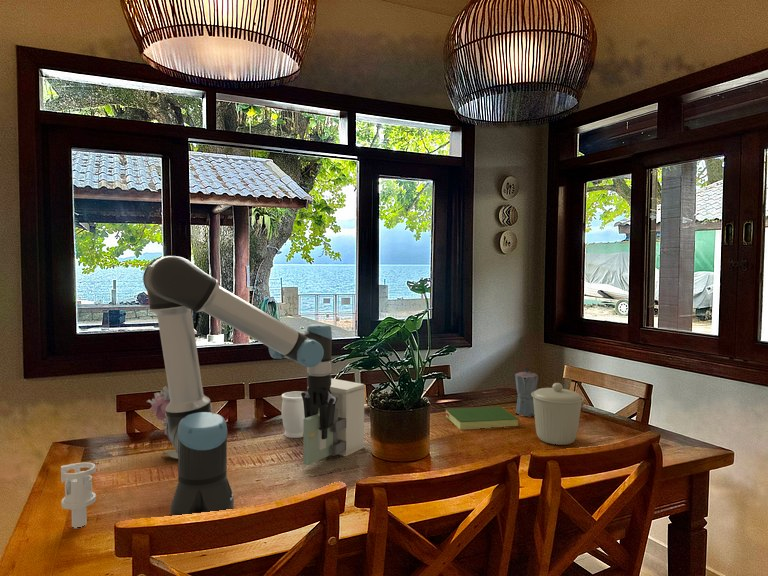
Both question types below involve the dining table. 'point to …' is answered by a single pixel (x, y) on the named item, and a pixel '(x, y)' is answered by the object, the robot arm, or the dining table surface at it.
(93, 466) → the strainer
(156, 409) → the flower
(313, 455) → the door
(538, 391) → the canister
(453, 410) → the hardcover book
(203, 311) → the robot arm
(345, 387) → the cabinet
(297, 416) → the jar
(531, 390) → the moka pot
